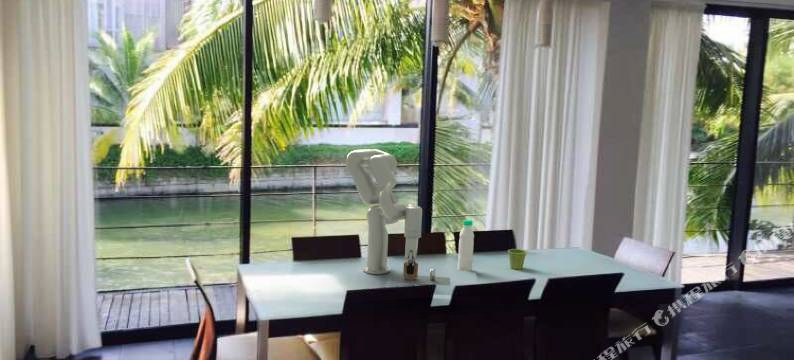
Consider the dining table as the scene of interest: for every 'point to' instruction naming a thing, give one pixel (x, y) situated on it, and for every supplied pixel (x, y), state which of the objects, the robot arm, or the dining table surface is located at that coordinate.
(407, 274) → the sleeve
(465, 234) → the water bottle
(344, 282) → the dining table surface
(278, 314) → the dining table surface
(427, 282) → the post board
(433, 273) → the steel posts
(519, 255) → the plant pot
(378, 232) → the robot arm
